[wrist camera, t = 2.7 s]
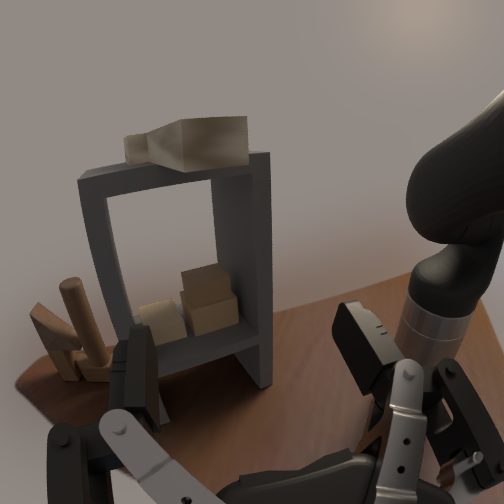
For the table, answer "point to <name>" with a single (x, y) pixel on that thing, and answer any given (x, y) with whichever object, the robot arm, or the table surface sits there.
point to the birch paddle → (192, 144)
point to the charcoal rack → (197, 269)
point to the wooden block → (73, 336)
